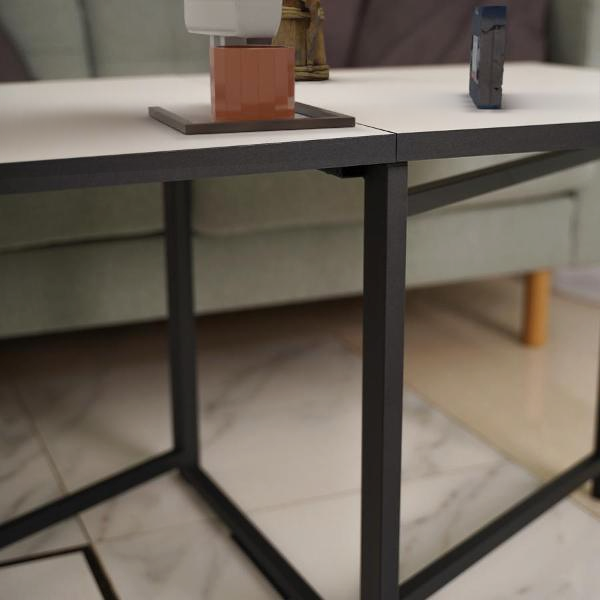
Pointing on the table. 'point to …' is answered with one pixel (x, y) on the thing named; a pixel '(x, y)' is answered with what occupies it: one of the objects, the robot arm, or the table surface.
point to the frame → (258, 121)
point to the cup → (252, 82)
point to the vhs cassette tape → (487, 55)
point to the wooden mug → (304, 38)
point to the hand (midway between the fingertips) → (228, 85)
